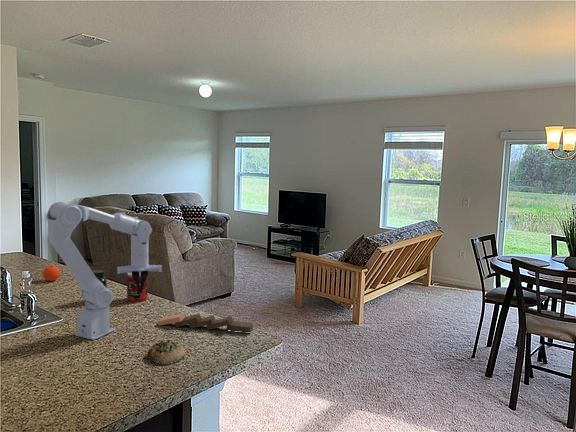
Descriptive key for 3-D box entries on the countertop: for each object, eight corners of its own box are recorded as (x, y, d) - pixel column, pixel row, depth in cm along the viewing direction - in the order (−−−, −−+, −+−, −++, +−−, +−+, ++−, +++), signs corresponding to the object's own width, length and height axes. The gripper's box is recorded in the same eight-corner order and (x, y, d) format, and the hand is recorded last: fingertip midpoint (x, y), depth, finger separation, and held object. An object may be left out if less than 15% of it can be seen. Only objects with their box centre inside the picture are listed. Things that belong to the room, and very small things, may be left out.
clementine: (45, 278, 199) (45, 263, 198) (62, 278, 201) (61, 263, 200) (41, 283, 191) (40, 267, 191) (58, 282, 194) (58, 267, 193)
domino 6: (227, 329, 146) (250, 331, 145) (230, 324, 150) (252, 326, 149) (227, 333, 146) (250, 335, 145) (230, 329, 150) (252, 331, 149)
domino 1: (157, 321, 148) (179, 317, 147) (162, 317, 152) (183, 313, 151) (158, 325, 148) (180, 321, 147) (163, 321, 152) (184, 317, 151)
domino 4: (206, 325, 146) (227, 319, 145) (210, 321, 150) (231, 315, 148) (208, 330, 146) (229, 324, 145) (212, 325, 150) (233, 320, 149)
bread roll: (145, 350, 129) (148, 334, 128) (183, 351, 133) (186, 335, 132) (146, 368, 118) (149, 351, 118) (187, 368, 122) (190, 352, 122)
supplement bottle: (93, 304, 166) (93, 274, 165) (84, 300, 170) (84, 271, 169) (110, 300, 172) (110, 271, 170) (101, 297, 176) (101, 268, 175)
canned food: (122, 300, 173) (122, 273, 172) (138, 295, 181) (138, 269, 179) (136, 303, 170) (136, 276, 169) (151, 298, 177) (151, 272, 176)
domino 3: (188, 324, 147) (210, 319, 146) (192, 319, 151) (214, 315, 150) (189, 328, 147) (212, 323, 146) (193, 324, 151) (215, 319, 150)
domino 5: (226, 324, 145) (249, 327, 144) (230, 320, 149) (252, 322, 148) (226, 329, 146) (249, 331, 144) (230, 325, 150) (252, 327, 148)
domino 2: (174, 323, 147) (196, 317, 146) (178, 318, 151) (199, 313, 150) (175, 327, 148) (197, 321, 147) (179, 323, 152) (201, 317, 151)
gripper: (116, 257, 143) (117, 297, 144) (162, 255, 147) (162, 294, 149) (117, 253, 149) (118, 291, 151) (161, 251, 154) (161, 288, 156)
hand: (140, 292), depth 151 cm, fingers closed
